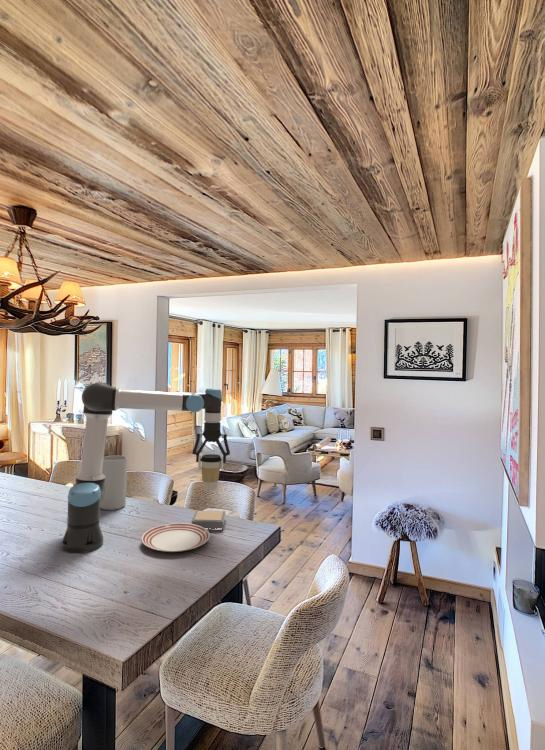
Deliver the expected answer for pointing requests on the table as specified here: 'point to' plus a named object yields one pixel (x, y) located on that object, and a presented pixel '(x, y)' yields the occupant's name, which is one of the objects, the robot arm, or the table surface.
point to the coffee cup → (210, 471)
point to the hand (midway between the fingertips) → (210, 469)
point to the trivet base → (209, 519)
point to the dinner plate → (175, 537)
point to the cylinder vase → (114, 482)
